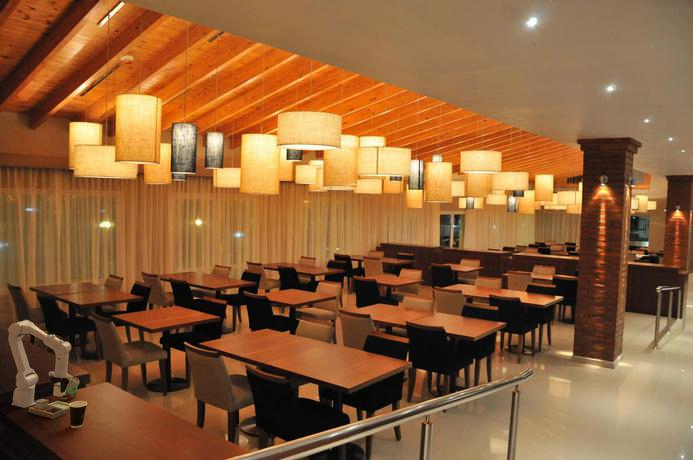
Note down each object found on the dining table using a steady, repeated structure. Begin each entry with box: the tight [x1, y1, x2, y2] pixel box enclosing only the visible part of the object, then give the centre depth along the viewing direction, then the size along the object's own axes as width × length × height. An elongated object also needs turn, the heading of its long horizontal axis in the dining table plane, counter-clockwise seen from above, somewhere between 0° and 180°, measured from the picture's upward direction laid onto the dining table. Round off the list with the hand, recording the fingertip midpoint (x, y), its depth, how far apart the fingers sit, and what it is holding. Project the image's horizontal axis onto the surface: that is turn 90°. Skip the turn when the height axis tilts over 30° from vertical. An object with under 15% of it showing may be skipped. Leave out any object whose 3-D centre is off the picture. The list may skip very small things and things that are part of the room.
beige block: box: [34, 398, 49, 410], centre depth 266 cm, size 4×4×6 cm
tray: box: [48, 400, 70, 411], centre depth 273 cm, size 12×10×1 cm
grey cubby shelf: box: [28, 405, 67, 420], centre depth 265 cm, size 16×8×3 cm, turn 71°
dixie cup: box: [69, 400, 88, 429], centre depth 253 cm, size 8×8×11 cm
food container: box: [60, 376, 80, 401], centre depth 288 cm, size 12×6×10 cm, turn 179°
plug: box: [52, 382, 66, 398], centre depth 273 cm, size 4×4×6 cm
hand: (59, 391), depth 272 cm, fingers closed on plug, 4 cm apart
